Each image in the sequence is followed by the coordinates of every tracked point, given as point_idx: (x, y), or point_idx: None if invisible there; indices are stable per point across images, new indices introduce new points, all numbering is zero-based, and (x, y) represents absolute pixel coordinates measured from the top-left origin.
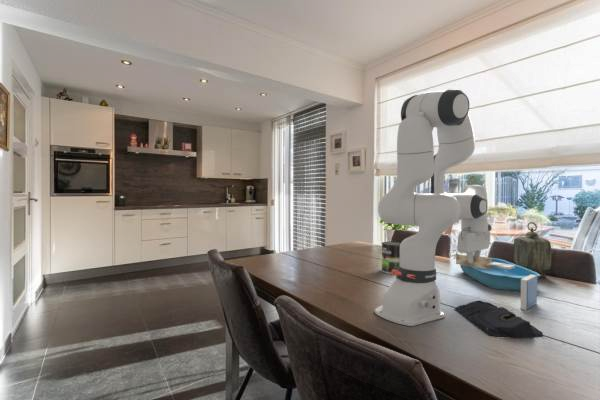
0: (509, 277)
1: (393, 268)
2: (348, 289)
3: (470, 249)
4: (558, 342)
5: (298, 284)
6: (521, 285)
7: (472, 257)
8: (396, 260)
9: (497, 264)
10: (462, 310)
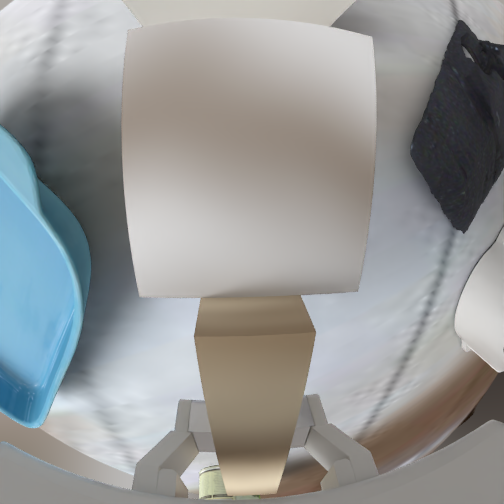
0: (39, 189)
1: None
2: (427, 419)
3: (474, 458)
4: (460, 3)
5: (430, 443)
6: (347, 6)
7: (341, 432)
8: (245, 498)
9: (294, 189)
10: (478, 206)
